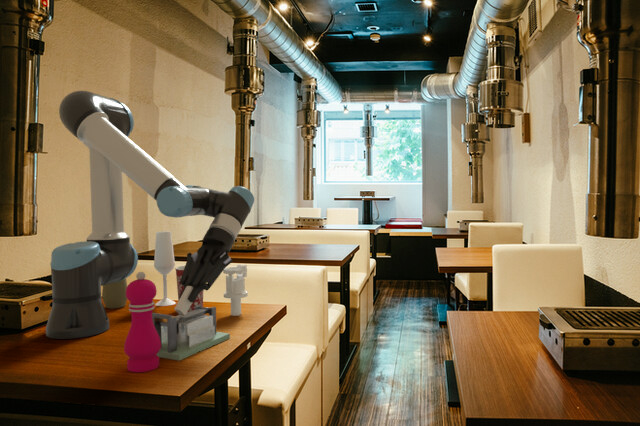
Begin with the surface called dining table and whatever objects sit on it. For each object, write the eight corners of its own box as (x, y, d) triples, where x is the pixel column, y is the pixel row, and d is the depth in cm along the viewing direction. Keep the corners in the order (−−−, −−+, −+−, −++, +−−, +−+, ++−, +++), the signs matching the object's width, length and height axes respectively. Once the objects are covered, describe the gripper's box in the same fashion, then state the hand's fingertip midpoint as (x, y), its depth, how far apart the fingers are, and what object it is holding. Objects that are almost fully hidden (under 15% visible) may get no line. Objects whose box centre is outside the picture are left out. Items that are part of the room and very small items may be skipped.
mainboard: (195, 333, 126) (195, 328, 126) (229, 338, 122) (229, 333, 121) (141, 354, 110) (141, 348, 110) (179, 360, 105) (178, 355, 105)
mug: (205, 312, 150) (204, 268, 149) (174, 313, 148) (173, 269, 148) (207, 303, 162) (206, 263, 162) (179, 304, 161) (178, 264, 160)
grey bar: (202, 311, 123) (202, 303, 123) (211, 312, 121) (211, 304, 121) (159, 326, 110) (158, 317, 110) (169, 328, 108) (168, 318, 108)
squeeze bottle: (134, 305, 161) (132, 251, 160) (112, 310, 154) (110, 253, 153) (118, 303, 165) (117, 250, 164) (96, 308, 158) (94, 252, 157)
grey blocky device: (193, 330, 124) (193, 299, 124) (222, 334, 120) (221, 301, 120) (146, 348, 110) (145, 312, 110) (176, 353, 106) (175, 316, 106)
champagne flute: (168, 306, 159) (166, 232, 158) (150, 305, 161) (148, 232, 160) (180, 301, 165) (178, 231, 164) (162, 301, 167) (160, 231, 166)
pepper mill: (165, 360, 105) (163, 268, 105) (155, 373, 98) (152, 274, 97) (132, 361, 105) (129, 269, 104) (119, 374, 98) (116, 275, 97)
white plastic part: (242, 317, 142) (241, 266, 141) (220, 316, 144) (218, 266, 143) (251, 312, 149) (250, 263, 148) (230, 311, 151) (229, 262, 150)
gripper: (248, 244, 127) (209, 323, 113) (208, 244, 133) (166, 319, 118) (235, 225, 122) (194, 305, 108) (194, 225, 128) (149, 301, 113)
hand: (179, 312), depth 113 cm, fingers closed
